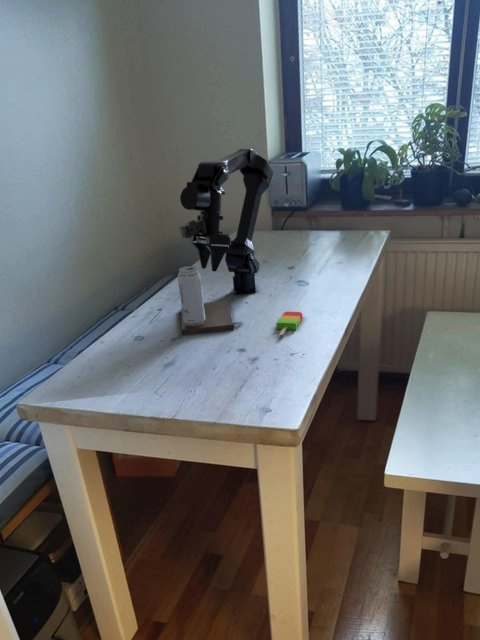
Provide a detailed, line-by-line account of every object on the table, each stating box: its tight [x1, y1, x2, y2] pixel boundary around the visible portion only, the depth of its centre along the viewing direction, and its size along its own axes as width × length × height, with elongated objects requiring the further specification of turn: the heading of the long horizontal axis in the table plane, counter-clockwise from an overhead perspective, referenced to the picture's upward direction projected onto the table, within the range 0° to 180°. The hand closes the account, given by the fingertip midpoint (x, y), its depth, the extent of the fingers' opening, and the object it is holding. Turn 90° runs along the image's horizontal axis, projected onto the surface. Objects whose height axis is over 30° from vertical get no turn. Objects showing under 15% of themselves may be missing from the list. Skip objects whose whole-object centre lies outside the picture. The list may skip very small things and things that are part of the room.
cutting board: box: [180, 300, 235, 336], centre depth 173 cm, size 14×20×2 cm
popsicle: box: [275, 311, 303, 336], centre depth 164 cm, size 6×15×2 cm, turn 164°
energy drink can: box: [177, 265, 205, 326], centre depth 163 cm, size 6×6×15 cm
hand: (208, 269), depth 173 cm, fingers open, 9 cm apart
